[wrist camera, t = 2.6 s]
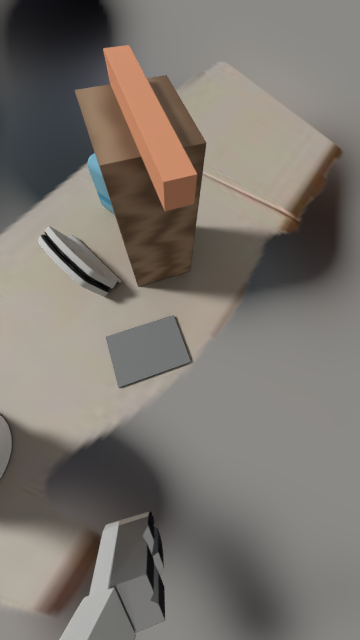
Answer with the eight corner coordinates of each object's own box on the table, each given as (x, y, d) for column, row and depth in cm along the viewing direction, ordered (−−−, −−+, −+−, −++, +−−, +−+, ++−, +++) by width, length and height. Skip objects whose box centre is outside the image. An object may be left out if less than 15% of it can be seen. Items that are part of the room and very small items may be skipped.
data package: (116, 218, 53) (100, 169, 42) (103, 209, 54) (84, 159, 43) (148, 190, 57) (142, 139, 45) (135, 182, 58) (126, 129, 46)
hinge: (123, 282, 47) (95, 267, 38) (108, 298, 48) (78, 287, 38) (77, 237, 51) (41, 212, 41) (64, 252, 51) (25, 231, 42)
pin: (164, 211, 21) (163, 182, 18) (110, 84, 28) (103, 48, 25) (194, 204, 21) (197, 174, 18) (133, 80, 28) (128, 45, 25)
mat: (119, 387, 40) (118, 387, 39) (106, 337, 43) (105, 336, 42) (190, 362, 42) (190, 361, 41) (173, 316, 45) (173, 315, 44)
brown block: (138, 286, 47) (99, 165, 23) (121, 236, 51) (74, 90, 27) (190, 271, 49) (206, 142, 24) (170, 224, 53) (166, 75, 29)
